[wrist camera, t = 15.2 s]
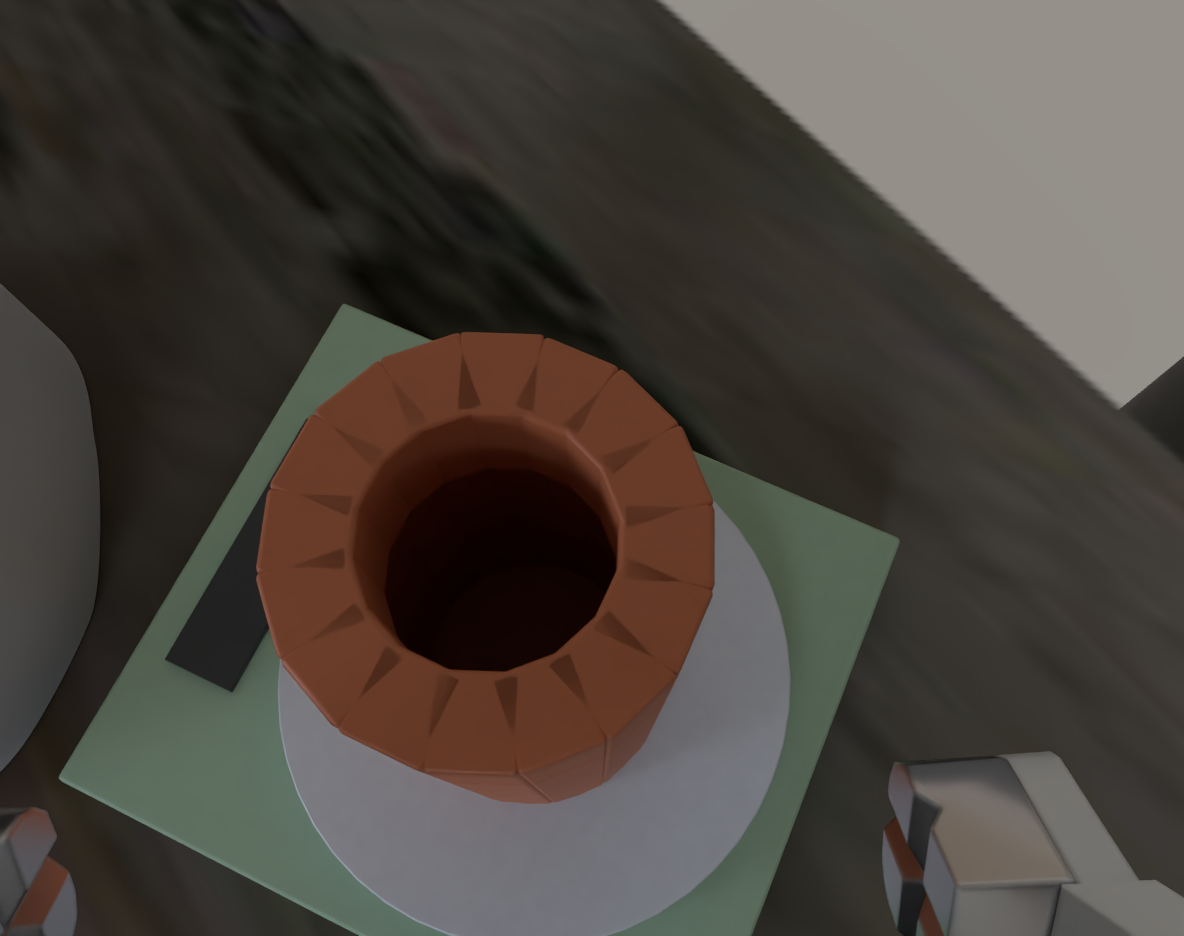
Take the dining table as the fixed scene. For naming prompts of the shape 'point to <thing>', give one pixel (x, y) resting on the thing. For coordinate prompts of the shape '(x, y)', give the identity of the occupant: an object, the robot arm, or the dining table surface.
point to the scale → (459, 816)
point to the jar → (490, 563)
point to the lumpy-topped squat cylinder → (42, 518)
